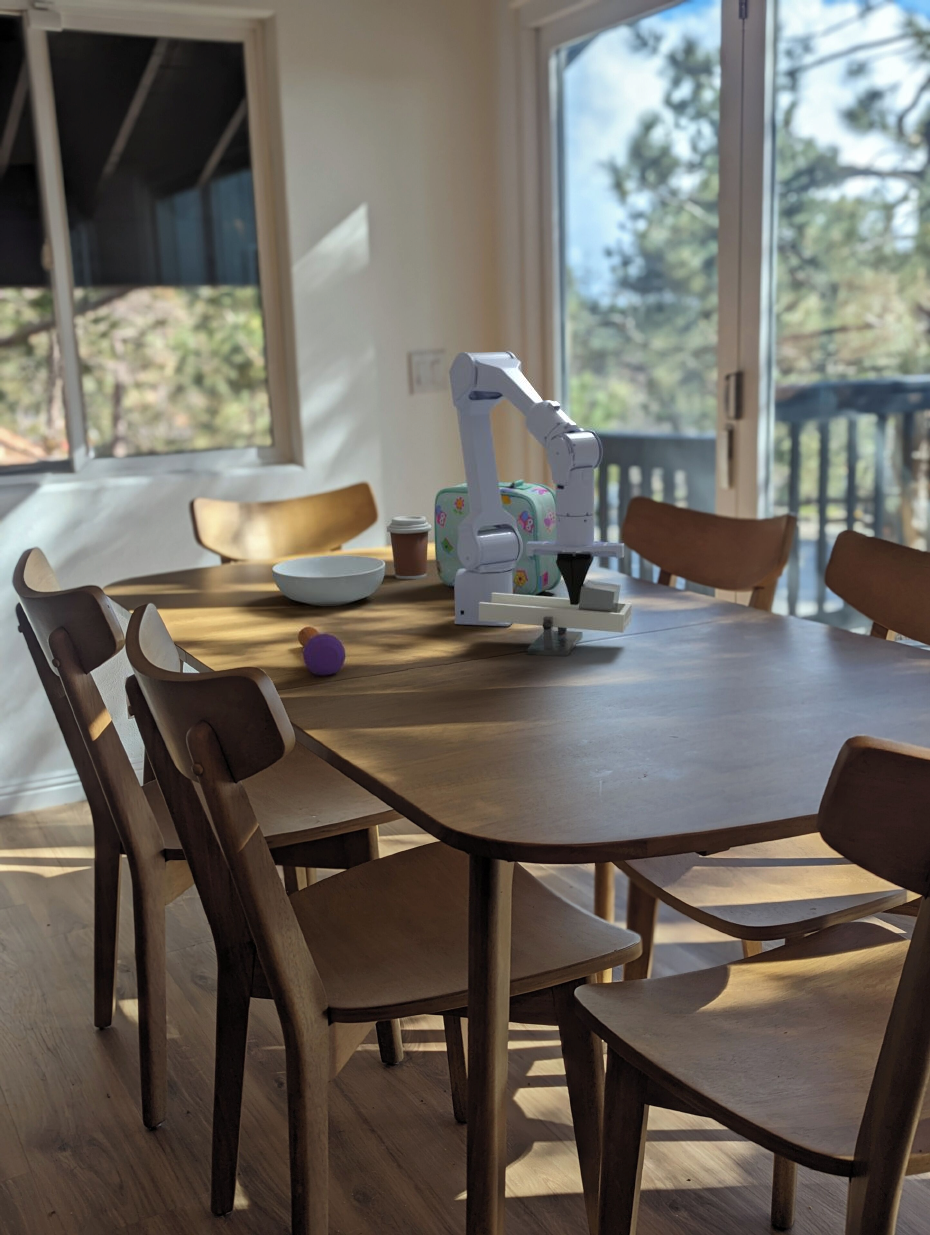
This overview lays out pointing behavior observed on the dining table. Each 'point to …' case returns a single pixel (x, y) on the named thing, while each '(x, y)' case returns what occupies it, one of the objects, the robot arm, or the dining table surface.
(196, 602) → the dining table surface
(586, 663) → the dining table surface
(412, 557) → the coffee cup
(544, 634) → the beam stand
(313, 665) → the kendama
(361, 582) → the serving bowl
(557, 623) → the balance beam
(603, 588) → the block
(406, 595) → the dining table surface
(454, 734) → the dining table surface
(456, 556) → the lunch box
